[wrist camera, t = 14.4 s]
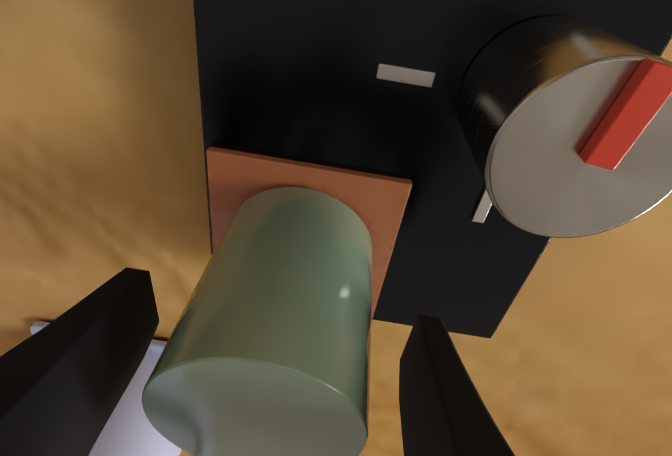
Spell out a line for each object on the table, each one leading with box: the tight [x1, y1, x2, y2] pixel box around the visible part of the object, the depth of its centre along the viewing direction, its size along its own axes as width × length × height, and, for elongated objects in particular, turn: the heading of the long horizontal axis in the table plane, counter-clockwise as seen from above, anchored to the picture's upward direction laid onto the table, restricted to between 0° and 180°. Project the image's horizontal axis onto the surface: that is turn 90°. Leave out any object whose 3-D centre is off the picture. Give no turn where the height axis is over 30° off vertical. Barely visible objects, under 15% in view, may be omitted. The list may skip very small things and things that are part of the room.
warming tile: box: [206, 146, 412, 319], centre depth 13 cm, size 6×6×1 cm
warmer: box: [194, 0, 672, 338], centre depth 13 cm, size 12×13×3 cm
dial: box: [458, 16, 672, 238], centre depth 8 cm, size 4×4×4 cm
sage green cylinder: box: [142, 187, 373, 456], centre depth 11 cm, size 5×5×6 cm
